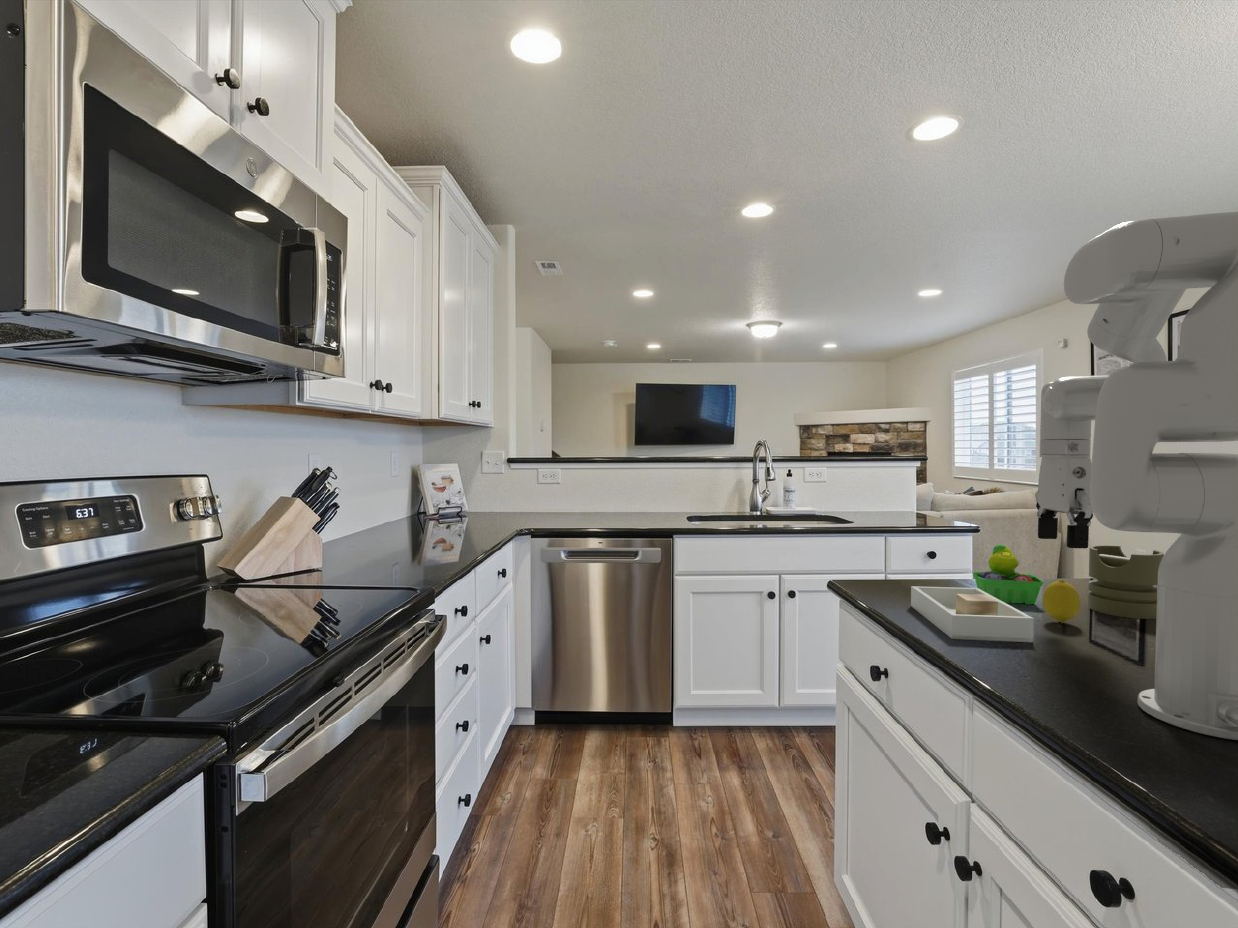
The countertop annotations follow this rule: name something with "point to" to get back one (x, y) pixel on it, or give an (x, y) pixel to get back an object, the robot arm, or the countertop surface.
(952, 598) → the tray
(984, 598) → the cube
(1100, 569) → the piston
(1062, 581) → the lemon
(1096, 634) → the countertop surface
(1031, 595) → the fruit basket
